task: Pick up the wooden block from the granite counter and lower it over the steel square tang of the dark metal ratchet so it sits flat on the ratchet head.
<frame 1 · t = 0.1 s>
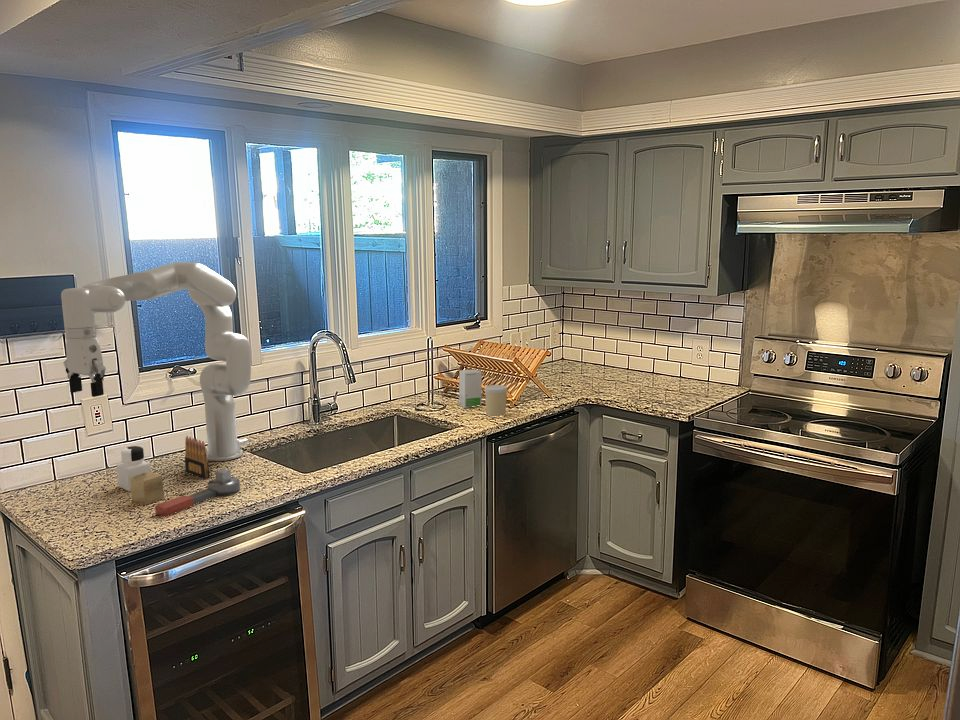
hand: (87, 393, 203), 31 cm above the worktop, tool pointing down, fingers open, 9 cm apart
wooden block: (148, 499, 208), on the worktop
coffee cup: (495, 416, 298), on the worktop
ratchet: (224, 490, 215), on the worktop
ammunition clip: (197, 475, 229), on the worktop
skincare box: (470, 406, 313), on the worktop
medicine bottle: (135, 486, 219), on the worktop
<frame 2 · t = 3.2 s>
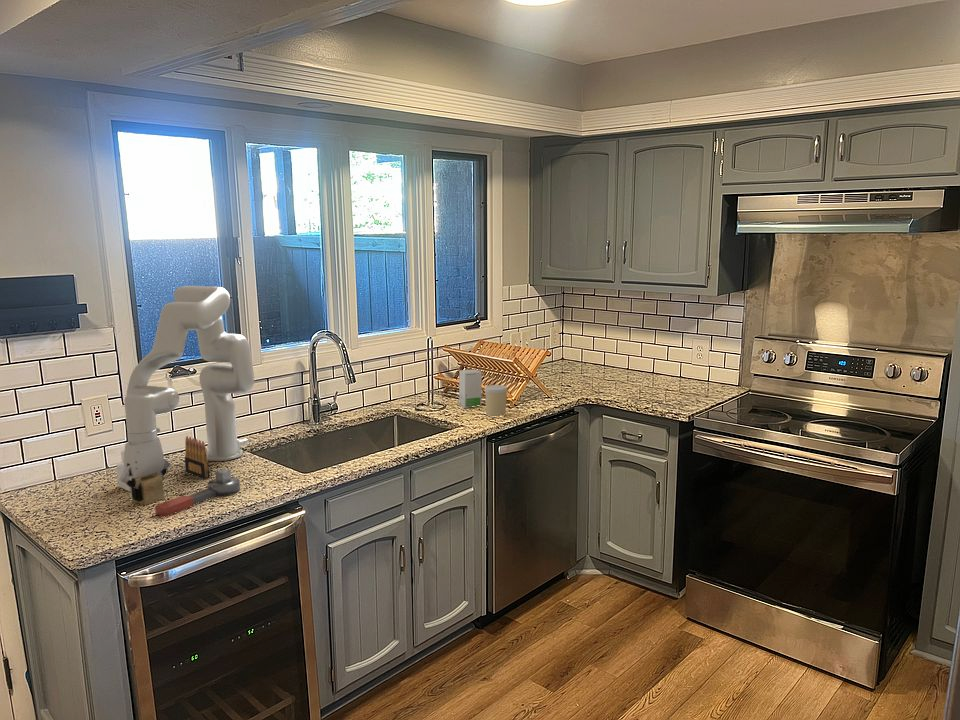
hand: (147, 496, 208), 1 cm above the worktop, tool pointing down, fingers closed on wooden block, 6 cm apart
wooden block: (148, 499, 208), on the worktop, touching gripper
everything else where it was.
when the fingers open (4 cm above the worktop, at t = 9.1 s): wooden block stays where it is, resting on ratchet.
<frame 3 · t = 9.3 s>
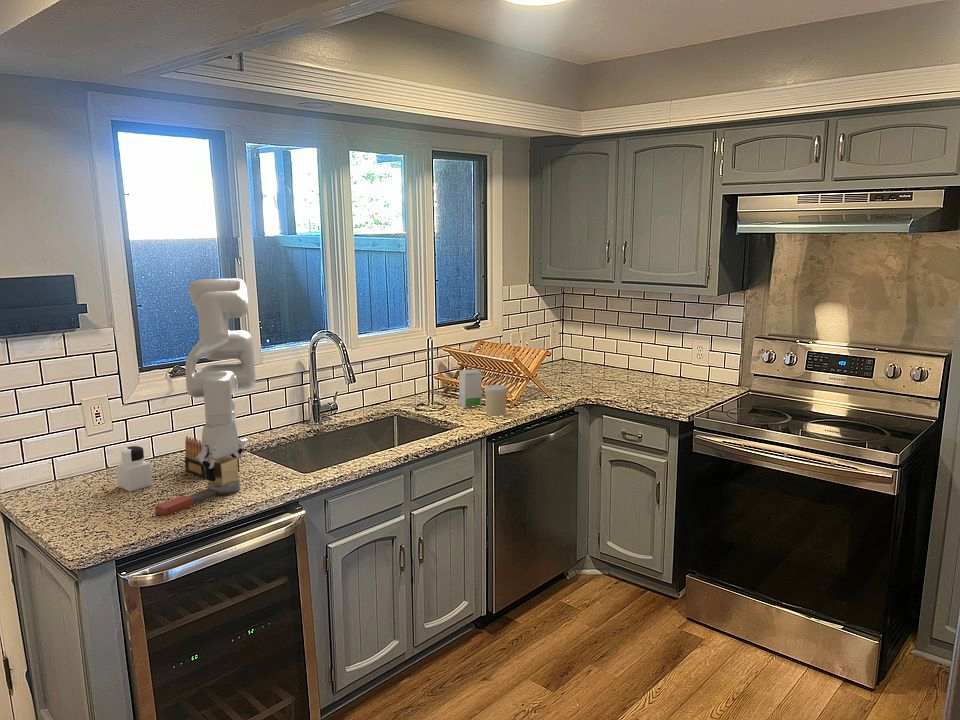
hand: (223, 475, 215), 5 cm above the worktop, tool pointing down, fingers open, 8 cm apart
wooden block: (223, 482, 215), point 3 cm above the worktop, touching ratchet
everything else where it was.
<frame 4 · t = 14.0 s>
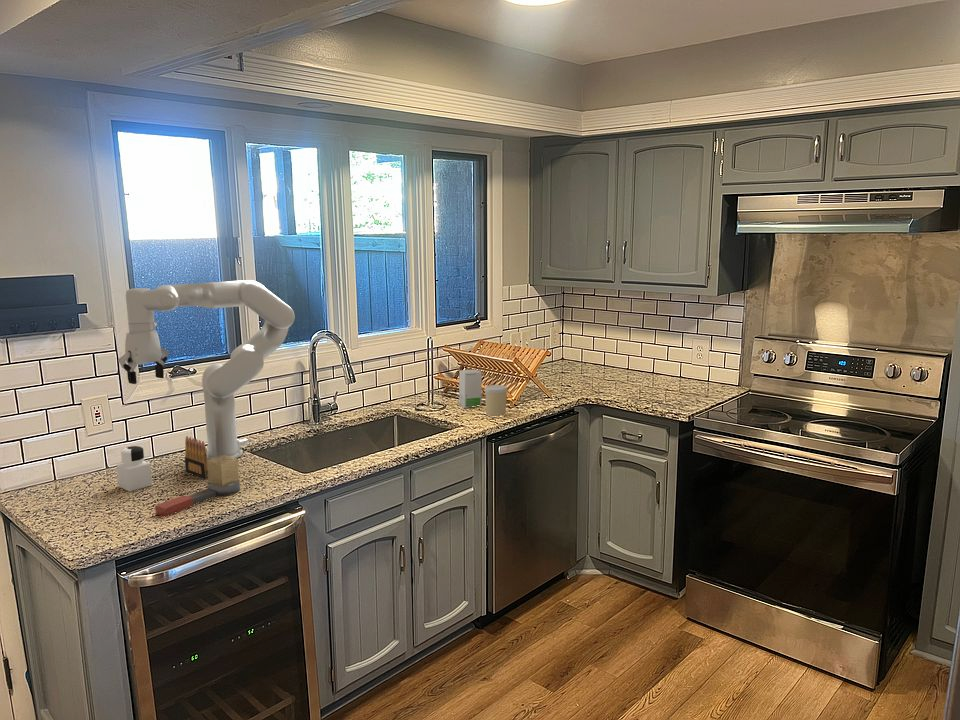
hand: (146, 380, 232), 28 cm above the worktop, tool pointing down, fingers open, 9 cm apart
nothing on the worktop moved.
at the end: wooden block 0.1 cm off-centre on the ratchet, point 2.6 cm above the ratchet's base; wooden block tilted 0°; the gripper is holding nothing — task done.
